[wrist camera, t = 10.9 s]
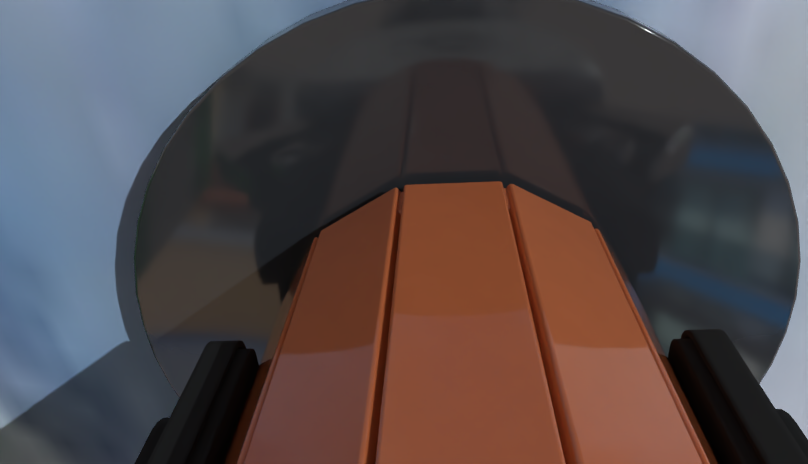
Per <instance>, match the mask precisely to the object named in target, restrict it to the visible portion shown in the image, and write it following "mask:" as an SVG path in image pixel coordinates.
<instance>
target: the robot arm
mask: <svg viewBox="0 0 808 464" xmlns="http://www.w3.org/2000/svg"><path fill="white" fill-rule="evenodd" d="M668 360H669V362H670V364H671V366H672V368H673V370H674V372H675V374H676V376H677V378H678V380H679V382H680V384H681V386H682V388H683V390H684V392H685V394H686V396H687V398H688V400H689V402H690V404H691V407H692V409H693V411H694V413H695V415H696V417H697V419H698V421H699V423H700V425H701V427H702V429H703V431H704V433H705V435H706V437H707V439H708V441H709V443H710V445H711V447H712V449H713V451H714V453H715V455H716V458H717V460H718V462H719V464H808V440H807V438H806V437H805V435H804V434H803V432H802V431H801V429H800V428H799V426H798V425H797V423H796V422H795V421H794V419H793V418H792V417H791V416H790V415H789V414H788V413H787V412H785V411H784V410H782V409H775V408H774V406H773V405H772V403H771V402H770V400H769V398H768V397H767V395H766V394H765V392H764V391H763V389H762V388H761V386H760V385H759V383H758V381H757V380H756V378H755V377H754V375H753V374H752V372H751V371H750V369H749V368H748V366H747V364H746V363H745V361H744V360H743V358H742V357H741V355H740V354H739V352H738V351H737V349H736V347H735V346H734V344H733V343H732V341H731V340H730V338H729V337H728V335H727V334H726V333H725V332H724V331H723V330H721V329H701V330H685V331H684V332H683V333H682V335H681V338H680V339H673V340H672V341H671V344H670V348H669V353H668ZM258 368H259V363H258V359H257V355H256V352H255V350H254V349H252V348H249V349H246V346H245V344H244V342H243V341H240V340H237V341H210V342H208V343H207V345H206V346H205V348H204V350H203V352H202V354H201V356H200V358H199V360H198V362H197V364H196V366H195V368H194V370H193V372H192V374H191V376H190V378H189V380H188V382H187V384H186V386H185V388H184V390H183V392H182V394H181V396H180V398H179V400H178V402H177V404H176V406H175V408H174V410H173V412H172V414H171V416H170V418H162V419H161V420H160V421H158V422H157V423H156V425H155V426H154V428H153V429H152V431H151V433H150V435H149V437H148V439H147V440H146V442H145V444H144V446H143V448H142V450H141V452H140V454H139V456H138V458H137V460H136V462H135V464H224V461H225V458H226V456H227V453H228V450H229V447H230V445H231V442H232V439H233V436H234V434H235V431H236V428H237V425H238V423H239V420H240V417H241V414H242V412H243V409H244V406H245V404H246V401H247V398H248V395H249V393H250V390H251V387H252V384H253V382H254V379H255V376H256V373H257V371H258Z"/></svg>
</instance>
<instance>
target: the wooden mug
mask: <svg viewBox="0 0 808 464" xmlns="http://www.w3.org/2000/svg"><path fill="white" fill-rule="evenodd" d="M224 464H719V462H718V460H717V458H716V455H715V453H714V451H713V449H712V447H711V445H710V443H709V441H708V439H707V437H706V435H705V433H704V431H703V429H702V427H701V425H700V423H699V421H698V419H697V417H696V415H695V413H694V411H693V409H692V407H691V404H690V402H689V400H688V398H687V396H686V394H685V392H684V390H683V388H682V386H681V384H680V382H679V380H678V378H677V376H676V374H675V372H674V370H673V368H672V366H671V364H670V362H669V360H668V358H667V356H666V354H665V351H664V349H663V347H662V345H661V343H660V341H659V339H658V337H657V335H656V333H655V331H654V329H653V327H652V325H651V323H650V321H649V319H648V317H647V315H646V313H645V311H644V309H643V307H642V305H641V303H640V300H639V298H638V296H637V294H636V292H635V291H634V289H633V287H632V285H631V284H630V282H629V280H628V278H627V277H626V275H625V273H624V272H623V270H622V268H621V266H620V265H619V263H618V261H617V259H616V258H615V256H614V254H613V253H612V251H611V249H610V247H609V246H608V244H607V242H606V240H605V239H604V237H603V235H602V233H601V232H600V230H599V229H597V228H596V229H594V227H593V225H592V223H591V222H590V221H588V220H585V219H583V218H581V217H579V216H577V215H575V214H573V213H571V212H569V211H567V210H565V209H563V208H561V207H559V206H557V205H555V204H553V203H551V202H549V201H547V200H545V199H542V198H540V197H538V196H536V195H534V194H532V193H530V192H528V191H526V190H524V189H522V188H520V187H518V186H516V185H514V184H509V185H508V186H507V188H504V186H503V183H502V182H500V181H492V182H465V183H438V184H411V185H405V186H404V188H403V192H400V190H399V189H398V188H397V187H396V188H393V189H392V190H390V191H388V192H386V193H385V194H383V195H381V196H380V197H378V198H376V199H374V200H373V201H371V202H369V203H368V204H366V205H364V206H362V207H361V208H359V209H357V210H356V211H354V212H352V213H351V214H349V215H347V216H345V217H344V218H342V219H340V220H339V221H337V222H335V223H333V224H332V225H330V226H328V227H327V228H325V229H323V230H321V231H320V233H319V236H318V237H315V238H314V239H313V241H312V243H311V245H310V247H309V249H308V251H307V253H306V255H305V257H304V259H303V261H302V263H301V265H300V267H299V269H298V271H297V273H296V275H295V277H294V279H293V281H292V284H291V286H290V288H289V290H288V292H287V294H286V296H285V298H284V300H283V302H282V305H281V308H280V310H279V313H278V316H277V319H276V321H275V324H274V327H273V329H272V332H271V335H270V338H269V340H268V343H267V346H266V349H265V351H264V354H263V357H262V360H261V362H260V365H259V368H258V371H257V373H256V376H255V379H254V382H253V384H252V387H251V390H250V393H249V395H248V398H247V401H246V404H245V406H244V409H243V412H242V414H241V417H240V420H239V423H238V425H237V428H236V431H235V434H234V436H233V439H232V442H231V445H230V447H229V450H228V453H227V456H226V458H225V461H224Z"/></svg>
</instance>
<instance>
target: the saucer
mask: <svg viewBox="0 0 808 464" xmlns="http://www.w3.org/2000/svg"><path fill="white" fill-rule="evenodd" d="M492 181H500V182H502V183H503V186H504V188H507V186H508V185H509V184H514V185H516V186H518V187H520V188H522V189H524V190H526V191H528V192H530V193H532V194H534V195H536V196H538V197H540V198H542V199H545V200H547V201H549V202H551V203H553V204H555V205H557V206H559V207H561V208H563V209H565V210H567V211H569V212H571V213H573V214H575V215H577V216H579V217H581V218H583V219H585V220H588V221H590V222H591V223H592V225H593V227H594V229H596V228H597V229H599V230H600V232H601V233H602V235H603V237H604V239H605V240H606V242H607V244H608V246H609V247H610V249H611V251H612V253H613V254H614V256H615V258H616V259H617V261H618V263H619V265H620V266H621V268H622V270H623V272H624V273H625V275H626V277H627V278H628V280H629V282H630V284H631V285H632V287H633V289H634V291H635V292H636V294H637V296H638V298H639V300H640V303H641V305H642V307H643V309H644V311H645V313H646V315H647V317H648V319H649V321H650V323H651V325H652V327H653V329H654V331H655V333H656V335H657V337H658V339H659V341H660V343H661V345H662V347H663V349H664V351H665V354H666V356H667V358H668V353H669V348H670V344H671V341H672V340H673V339H680V338H681V335H682V333H683V332H684V331H685V330H701V329H721V330H723V331H724V332H725V333H726V334H727V335H728V337H729V338H730V340H731V341H732V343H733V344H734V346H735V347H736V349H737V351H738V352H739V354H740V355H741V357H742V358H743V360H744V361H745V363H746V364H747V366H748V368H749V369H750V371H751V372H752V374H753V375H754V377H755V378H756V380H757V381H758V383H759V384H760V382H761V381H762V379H763V377H764V376H765V374H766V373H767V371H768V370H769V368H770V366H771V365H772V363H773V360H774V358H775V356H776V354H777V352H778V350H779V347H780V345H781V343H782V341H783V339H784V336H785V334H786V332H787V328H788V325H789V321H790V318H791V314H792V311H793V307H794V304H795V300H796V295H797V286H798V278H799V269H800V244H799V226H798V218H797V214H796V210H795V206H794V201H793V197H792V193H791V189H790V185H789V181H788V179H787V176H786V174H785V172H784V170H783V167H782V165H781V163H780V160H779V158H778V156H777V154H776V151H775V149H774V147H773V144H772V143H771V141H770V140H769V138H768V137H767V135H766V134H765V132H764V131H763V129H762V128H761V126H760V125H759V123H758V122H757V120H756V119H755V117H754V115H753V114H752V112H751V111H750V109H749V108H748V106H747V105H746V104H745V103H744V102H743V101H742V100H741V99H740V98H739V97H738V96H737V95H736V94H735V93H734V92H733V91H732V90H731V89H730V87H729V86H728V85H727V84H726V83H725V82H724V81H723V80H722V79H721V78H720V77H719V76H718V75H717V74H716V73H715V72H714V71H713V70H711V69H710V68H709V67H707V66H706V65H705V64H703V63H702V62H701V61H700V60H698V59H697V58H696V57H694V56H693V55H692V54H690V53H689V52H688V51H686V50H685V49H684V48H682V47H681V46H680V45H678V44H677V43H676V42H674V41H673V40H671V39H670V38H668V37H667V36H665V35H664V34H662V33H660V32H659V31H657V30H655V29H653V28H651V27H649V26H647V25H645V24H644V23H642V22H640V21H638V20H636V19H634V18H632V17H630V16H629V15H627V14H625V13H623V12H621V11H619V10H617V9H615V8H612V7H609V6H606V5H603V4H600V3H598V2H595V1H592V0H347V1H344V2H342V3H339V4H337V5H334V6H331V7H329V8H326V9H324V10H321V11H318V12H316V13H313V14H311V15H309V16H307V17H306V18H304V19H302V20H300V21H298V22H297V23H295V24H293V25H291V26H290V27H288V28H286V29H284V30H283V31H281V32H279V33H277V34H275V35H274V36H272V37H270V38H268V39H267V40H266V41H265V42H263V43H262V44H261V45H259V46H258V47H257V48H256V49H254V50H253V51H252V52H250V53H249V54H248V55H247V56H245V57H244V58H243V59H241V60H240V61H239V62H238V63H236V64H235V65H234V66H233V67H231V68H230V69H229V70H228V71H227V72H226V73H225V74H224V75H222V76H221V77H220V78H219V79H218V80H217V81H216V83H215V84H214V85H213V86H212V87H211V88H210V89H209V90H208V91H207V92H206V93H205V94H204V95H203V96H202V97H201V98H200V100H199V101H198V102H197V103H196V104H195V105H194V106H193V107H192V108H191V109H190V110H189V111H188V113H187V114H186V116H185V117H184V119H183V120H182V122H181V123H180V125H179V126H178V128H177V129H176V131H175V132H174V133H173V135H172V136H171V138H170V139H169V141H168V142H167V144H166V145H165V147H164V149H163V151H162V153H161V156H160V158H159V160H158V162H157V164H156V166H155V169H154V171H153V173H152V175H151V177H150V179H149V182H148V184H147V188H146V191H145V195H144V199H143V202H142V206H141V210H140V213H139V217H138V221H137V231H136V241H135V251H134V268H135V284H136V295H137V300H138V304H139V309H140V313H141V318H142V322H143V327H144V329H145V332H146V334H147V337H148V340H149V342H150V345H151V348H152V350H153V353H154V355H155V358H156V360H157V361H158V363H159V365H160V367H161V369H162V370H163V372H164V374H165V376H166V378H167V380H168V381H169V383H170V385H171V387H172V388H173V389H174V391H175V392H176V393H177V395H178V396H179V398H180V396H181V394H182V392H183V390H184V388H185V386H186V384H187V382H188V380H189V378H190V376H191V374H192V372H193V370H194V368H195V366H196V364H197V362H198V360H199V358H200V356H201V354H202V352H203V350H204V348H205V346H206V345H207V343H208V342H210V341H237V340H240V341H243V342H244V344H245V346H246V349H249V348H252V349H254V350H255V352H256V355H257V359H258V363H259V365H260V362H261V360H262V357H263V354H264V351H265V349H266V346H267V343H268V340H269V338H270V335H271V332H272V329H273V327H274V324H275V321H276V319H277V316H278V313H279V310H280V308H281V305H282V302H283V300H284V298H285V296H286V294H287V292H288V290H289V288H290V286H291V284H292V281H293V279H294V277H295V275H296V273H297V271H298V269H299V267H300V265H301V263H302V261H303V259H304V257H305V255H306V253H307V251H308V249H309V247H310V245H311V243H312V241H313V239H314V238H315V237H318V236H319V233H320V231H321V230H323V229H325V228H327V227H328V226H330V225H332V224H333V223H335V222H337V221H339V220H340V219H342V218H344V217H345V216H347V215H349V214H351V213H352V212H354V211H356V210H357V209H359V208H361V207H362V206H364V205H366V204H368V203H369V202H371V201H373V200H374V199H376V198H378V197H380V196H381V195H383V194H385V193H386V192H388V191H390V190H392V189H393V188H396V187H397V188H398V189H399V190H400V192H403V188H404V186H405V185H411V184H438V183H465V182H492Z"/></svg>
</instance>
